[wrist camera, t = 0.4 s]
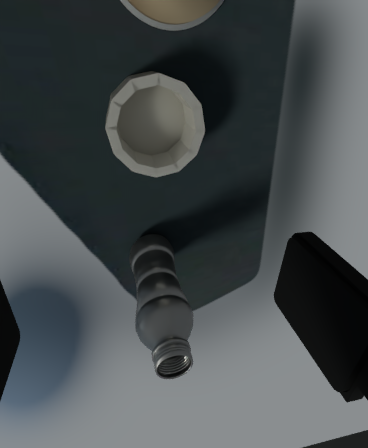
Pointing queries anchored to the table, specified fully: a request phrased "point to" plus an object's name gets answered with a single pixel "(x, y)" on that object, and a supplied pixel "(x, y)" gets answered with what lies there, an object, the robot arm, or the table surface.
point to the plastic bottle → (161, 306)
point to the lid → (173, 9)
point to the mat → (169, 26)
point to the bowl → (154, 124)
